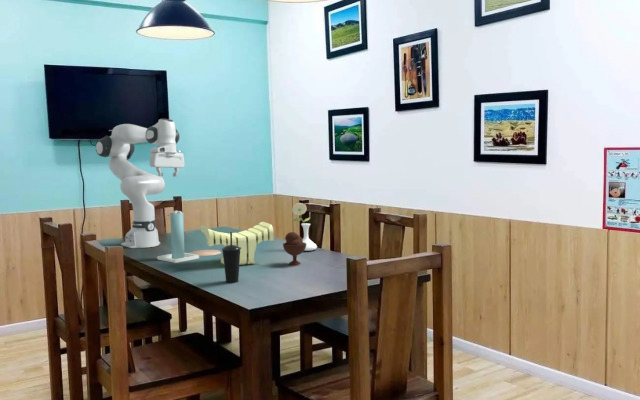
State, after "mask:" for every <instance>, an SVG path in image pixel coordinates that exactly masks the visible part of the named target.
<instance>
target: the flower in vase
mask: <svg viewBox="0 0 640 400" xmlns="http://www.w3.org/2000/svg"><path fill="white" fill-rule="evenodd" d="M307 210H308V209H307V205H306V203H303V202H302V203H301V202H297V203H295V204H294V205H293V206H292V208H291V211H292V213H293V215H296V216H300V217H296V218H294V219H293V222H297V223H299V222H300V221H302V223H301V224H300V225H301V226H302V228H303V237H302V240H303V242H304V243H306V248H305V250H304V251H303V252H308V251H310V252H311V251H314V250H316V249H317V248H318V246H317V244H316V243H314V241H312V240H311V239H310V238H309V228H310V226H311V223H307V222H308V221H309V220H310V219H311V216H309V217H308V218H305V219H304V220H303V218H302V215H304V214H305V213H306V212H307ZM305 222H306V223H305Z"/></svg>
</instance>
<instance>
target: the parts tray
mask: <svg viewBox="0 0 640 400" xmlns="http://www.w3.org/2000/svg"><path fill="white" fill-rule="evenodd" d="M184 254H185V257H184V258H179V259H172V253H169V254H162V255H158V256H156V259H157V260H159V261H164V262H170V263H173V264H174V263H175V264H176V263H181V262H186V261H191V260H196V259H197V260H198V259H200V256H199V255H195V254H189V252H184Z"/></svg>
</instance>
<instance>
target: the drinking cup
mask: <svg viewBox="0 0 640 400" xmlns="http://www.w3.org/2000/svg"><path fill="white" fill-rule="evenodd" d="M229 233H230V245H227V246H225V245H224V247H223V246H222V248H221V252H222V257H223V259H224V264H223V265H224V275H225V282H226V283H228V284H234V283H238V282H239V278H240V276H239V275H240V265H239V263H240V249H241V247H238V246H236V245H232V233H233V232H232V231H230V232H229Z"/></svg>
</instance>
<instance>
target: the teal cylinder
mask: <svg viewBox="0 0 640 400" xmlns="http://www.w3.org/2000/svg"><path fill="white" fill-rule="evenodd" d="M169 214H170V215H169V216H170V217H169V218H170V244H171V245H170V247H171V250H170V251H171V254H172V259H179V258H184V257H185V254H184V253H185V234H184V233H185V230H184V229H185V228H184V227H185V226H184V212H182V211H181V210H173V211H172V212H171V213H169Z"/></svg>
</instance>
